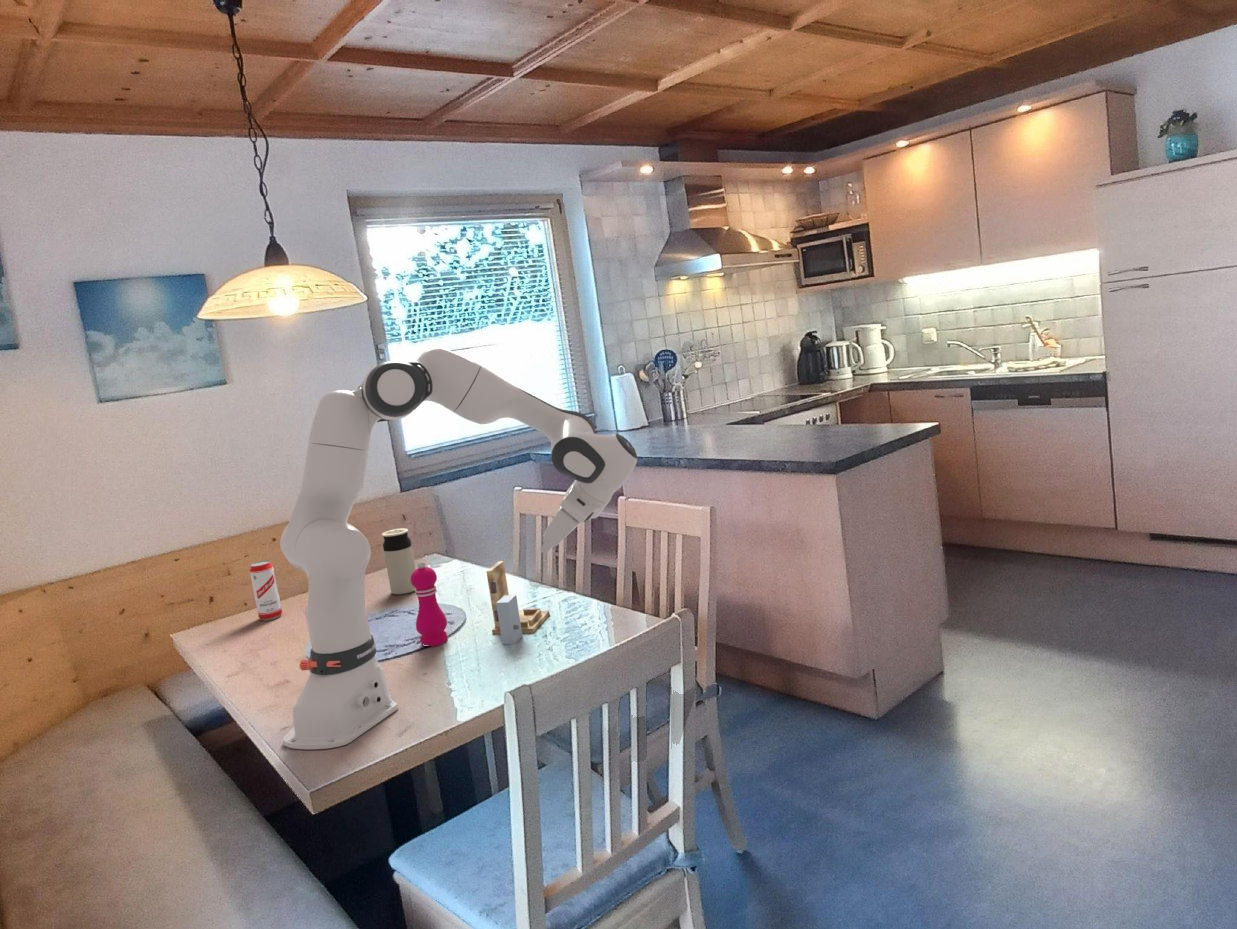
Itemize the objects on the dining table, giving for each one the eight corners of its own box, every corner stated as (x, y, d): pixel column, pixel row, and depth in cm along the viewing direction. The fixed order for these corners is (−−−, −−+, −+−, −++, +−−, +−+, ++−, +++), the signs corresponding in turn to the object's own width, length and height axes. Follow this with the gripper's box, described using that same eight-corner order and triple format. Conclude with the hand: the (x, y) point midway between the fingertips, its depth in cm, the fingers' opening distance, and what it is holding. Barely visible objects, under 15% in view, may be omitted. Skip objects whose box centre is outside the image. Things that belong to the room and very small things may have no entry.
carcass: (533, 632, 195) (524, 571, 193) (492, 634, 198) (483, 573, 196) (549, 614, 207) (541, 556, 205) (510, 616, 210) (502, 558, 207)
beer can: (284, 616, 234) (274, 562, 231) (261, 623, 231) (250, 567, 228) (280, 612, 239) (270, 558, 237) (257, 618, 236) (246, 564, 233)
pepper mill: (442, 647, 194) (428, 564, 190) (414, 648, 195) (399, 566, 192) (454, 635, 200) (441, 555, 197) (426, 636, 202) (413, 557, 199)
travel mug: (414, 593, 240) (404, 533, 238) (387, 596, 241) (377, 536, 238) (422, 585, 248) (412, 526, 245) (396, 587, 249) (385, 529, 246)
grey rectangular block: (518, 643, 190) (512, 602, 188) (502, 644, 191) (496, 602, 189) (526, 635, 194) (520, 594, 193) (510, 635, 195) (504, 595, 194)
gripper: (587, 480, 192) (553, 524, 196) (560, 501, 173) (523, 549, 177) (608, 497, 192) (574, 541, 196) (583, 520, 172) (546, 568, 176)
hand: (550, 545), depth 186 cm, fingers open, 8 cm apart
